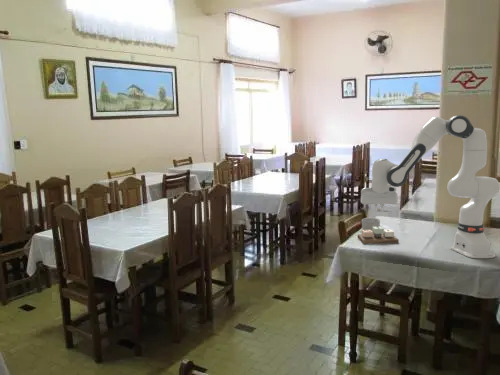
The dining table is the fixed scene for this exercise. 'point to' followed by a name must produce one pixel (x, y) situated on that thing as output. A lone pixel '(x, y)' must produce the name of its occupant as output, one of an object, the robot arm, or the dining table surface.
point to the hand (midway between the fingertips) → (378, 211)
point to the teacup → (370, 223)
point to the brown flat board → (377, 239)
